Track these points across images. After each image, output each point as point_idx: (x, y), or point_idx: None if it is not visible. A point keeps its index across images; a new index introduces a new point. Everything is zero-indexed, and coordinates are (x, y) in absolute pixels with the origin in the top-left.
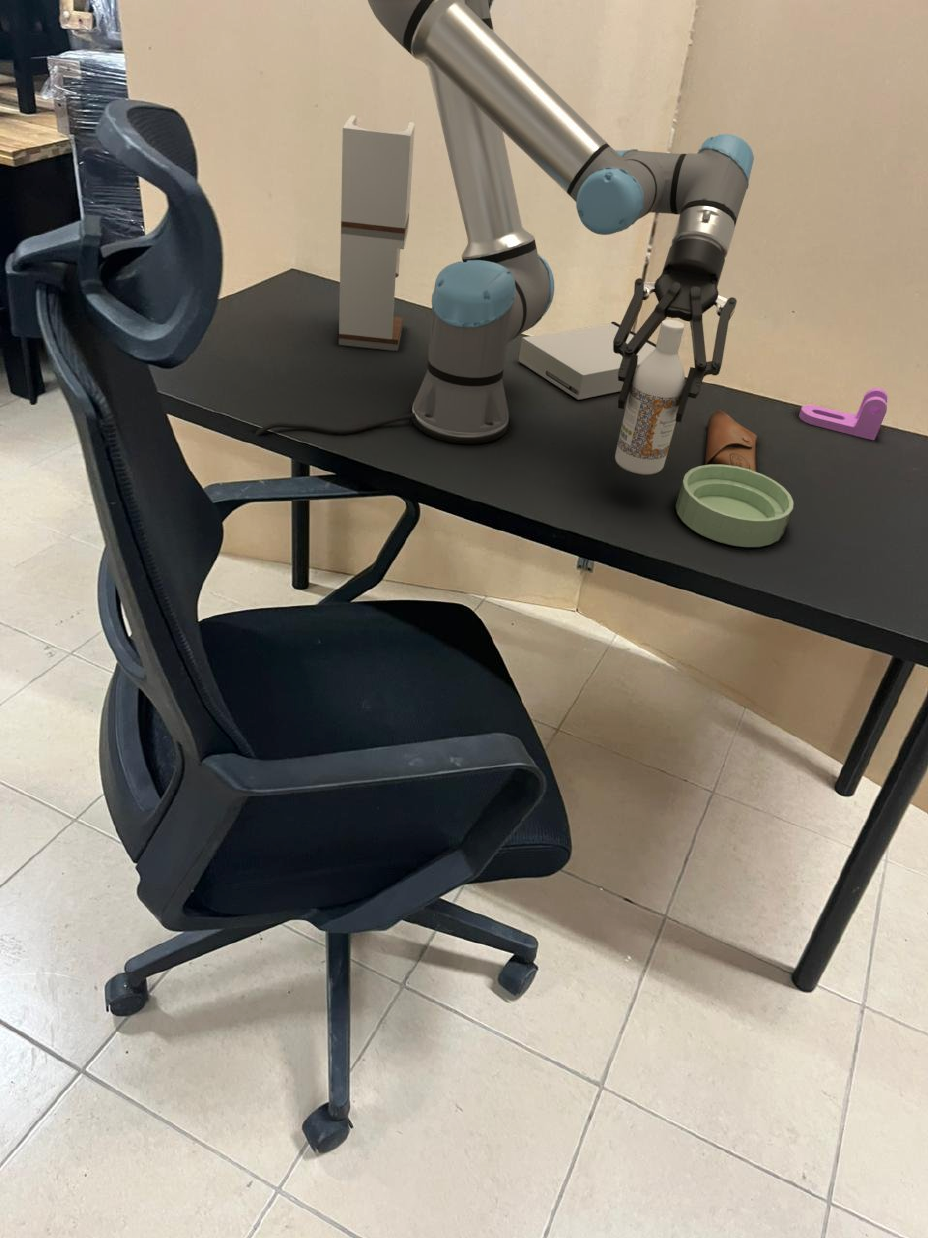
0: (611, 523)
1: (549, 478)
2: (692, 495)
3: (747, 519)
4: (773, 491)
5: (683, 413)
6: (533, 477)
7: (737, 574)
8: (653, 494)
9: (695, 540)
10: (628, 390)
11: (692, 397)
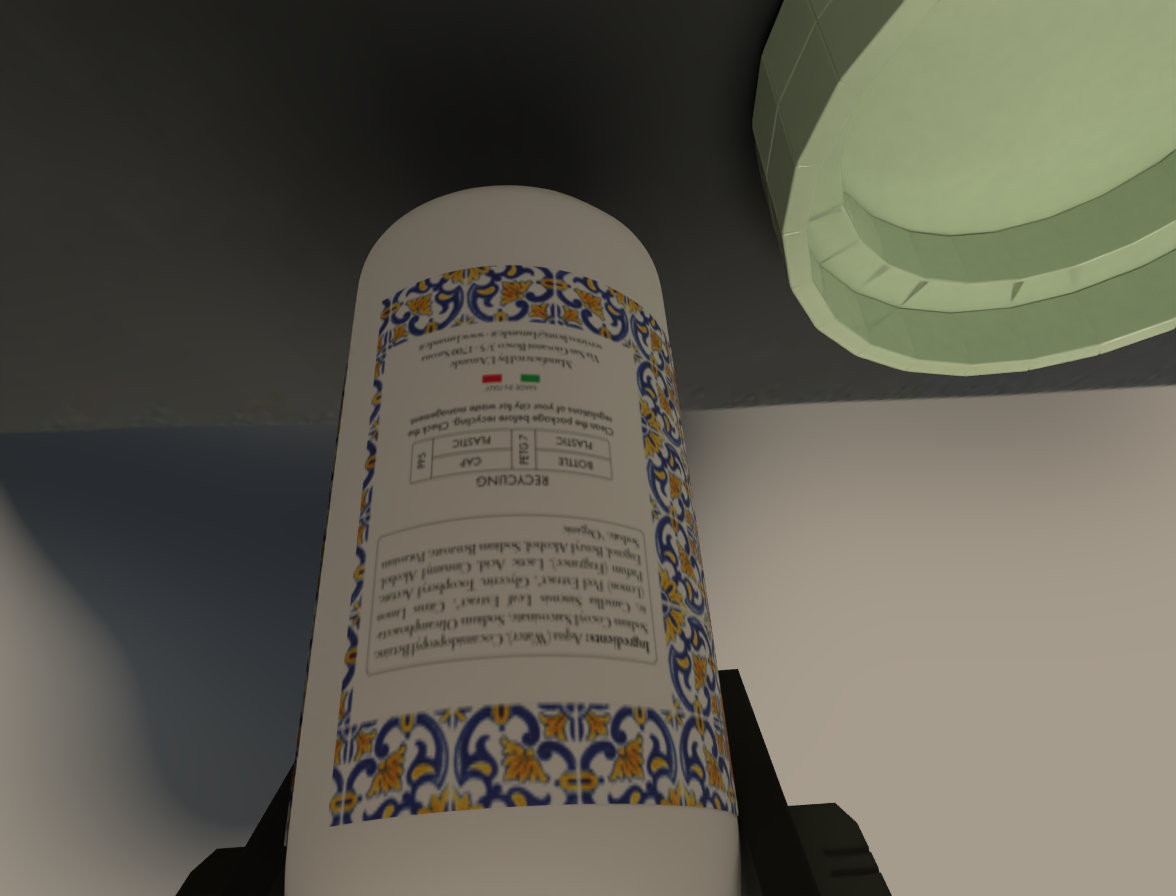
0: None
1: (88, 198)
2: (828, 325)
3: (1063, 362)
4: None
5: (749, 708)
6: (33, 229)
7: None
8: (616, 38)
9: None
10: None
11: (810, 808)
